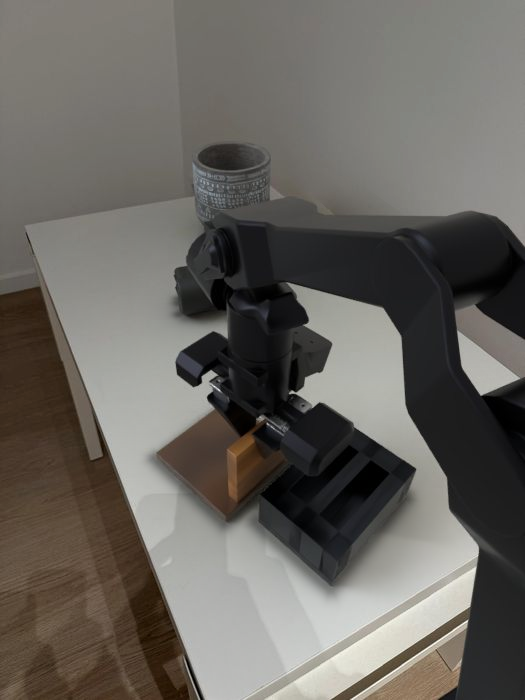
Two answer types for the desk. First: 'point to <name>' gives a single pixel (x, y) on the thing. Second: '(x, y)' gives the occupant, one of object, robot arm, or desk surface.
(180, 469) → the board
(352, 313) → the desk surface
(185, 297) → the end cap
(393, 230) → the robot arm
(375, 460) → the toaster
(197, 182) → the planter
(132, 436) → the desk surface
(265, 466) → the toast
